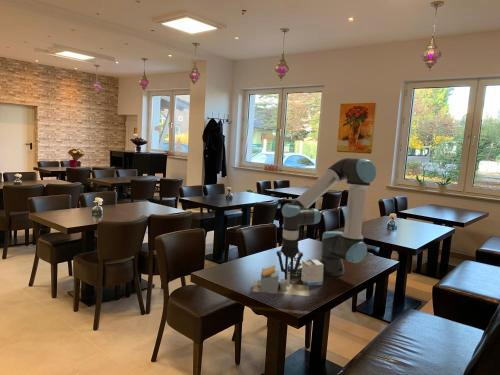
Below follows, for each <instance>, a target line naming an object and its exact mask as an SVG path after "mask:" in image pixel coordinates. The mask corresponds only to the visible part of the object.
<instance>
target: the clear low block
mask: <svg viewBox="0 0 500 375" xmlns="http://www.w3.org/2000/svg"><path fill="white" fill-rule="evenodd" d="M257 282H258V283H257V287H261V279H260V280H257ZM278 288H279V289H280V291H286V289H287V280H285V278H281V279H280V281H278Z"/></svg>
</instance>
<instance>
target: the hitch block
mask: <svg viewBox="0 0 500 375" xmlns="http://www.w3.org/2000/svg"><path fill="white" fill-rule="evenodd" d="M279 272H280V271H279V270H275V273H273V274H270V275H267V276H264V277H261V276H260V281H261V290H260V292H259V293H266V292H272V293H271V294H278V293H277V292H278V282H279V275H280V273H279Z"/></svg>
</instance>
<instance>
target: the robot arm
mask: <svg viewBox="0 0 500 375" xmlns="http://www.w3.org/2000/svg"><path fill="white" fill-rule="evenodd" d="M376 177H377V168H376V165H375V164H374V162H373V161H371V160H369V159H366V158H352V157H345V158H341V159H340V160H338V161H336V162H335V163H333V164H332V165H330V166H329V167H327V169H326V170H325V173H324V174H323V175H322V176H321V177H320V178H318V179H317V180H316V181H314V183H313V184H312V185H311V186H309V187H308V188H307V189H306V190H305V191H303V192H302V194H300V195H299V196H298V197H297V198H296V199H294V200H293V201H292V202H291V203H287V202H286V203H285V204H283V206H282V208H281V214H282V216H283V224H282V226H283V227H282V242H281V244H282V245H281V248H280V249H279V250H277V251H276V256H277V258H278V263H279V266H280V271H281V272H282V273H283V274H284V279H285V280H287V287H289V286H290V284H291V283H290V282H291V281H293V274H296V273H297V271H298V268H299V265H300V263H301V260H302V258H303V257H304V253H303V252H301V251H300V250H299V236H300V226H303V225H304V226H306V225H313V226H314V225H316V224H318V223H320V221H321V217H322V214H321V211H320V210H319V209H318V208H310V207H311V206H312V205H313V204H314V203H315V202H317V200H319V199H320V198H321V197H322V196H323V195H324V194H325V193H326V192H328V191H329V189H331V188H332V187H333V186H334V185H335V184H339V183H340V182H341V181H344V180H346V185H347V186H348V197H347V205H346V212H345V221H344V230H343V231H337V230H331V231H324V232H323V233H322V239H321V254H320V259H319V260H318V261H319V262H321V263H322V264H324V266H323V276H325V275H326V276H329V277H330V276H331V277H340V276H343V275H344V274H345V266H344V262H343V260H345V261H347V262H349V263H355V264H357V263H360V262H361V261H362V260H363V259H365V257H366V255H367V252H368V247H367V245H366V243H365V242H364V236H363V234H362V227H363V219H364V211H365V203H366V192H367V189H368V188H369V187H370V186H371V183H372V182H374V181H375V179H376ZM282 254H283V256H284V257H285V260H284V261H285V262H284V264H283V258H282ZM296 256H297V259H296V262H295V266H294V258H295V257H296ZM289 258H290V262H289ZM289 263H290V265H288V264H289ZM288 266H289V267H288ZM288 268H289V271H288Z"/></svg>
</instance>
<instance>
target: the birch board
mask: <svg viewBox="0 0 500 375" xmlns="http://www.w3.org/2000/svg"><path fill="white" fill-rule="evenodd" d="M257 283H258V280H255V281H254V282H253V286H252V289H251V292H255V293H256V292H257V293H261V292H260V290H261V287H257ZM266 293H267V294H273V293H272V292H265V294H266ZM276 294H279V295H280V294H281V295H290V296H291V295H294V296H302V297H303V296H305V297H311V296H310V288H309V286H308V285H307V284H306V285H305V284H291V283H290V286H289V287H287V289H286V291H280V289H279V288H278V292H277V293H276Z"/></svg>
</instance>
